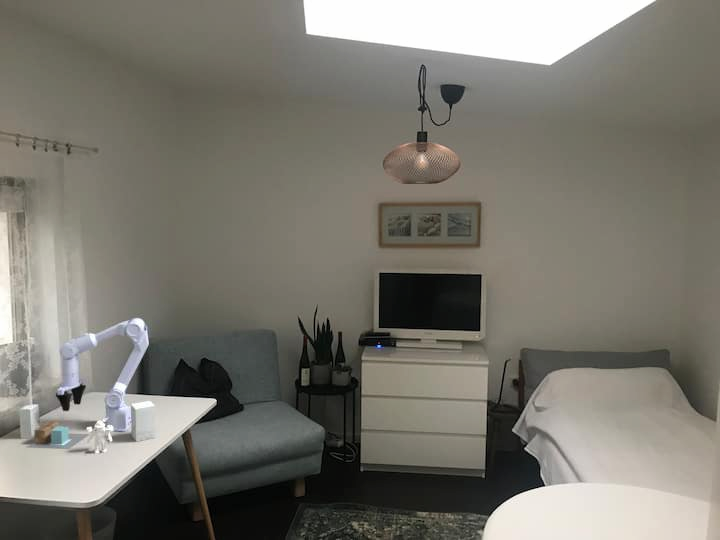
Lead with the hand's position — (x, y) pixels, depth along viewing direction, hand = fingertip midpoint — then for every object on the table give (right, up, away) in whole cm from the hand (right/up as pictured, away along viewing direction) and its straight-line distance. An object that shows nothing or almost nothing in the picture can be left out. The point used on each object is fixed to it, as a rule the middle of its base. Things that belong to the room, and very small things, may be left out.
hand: (71, 407), depth 222 cm
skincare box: (-12, -10, -6) cm, 17 cm away
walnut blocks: (-4, -9, -10) cm, 14 cm away
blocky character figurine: (+20, -12, -19) cm, 29 cm away
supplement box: (+30, -10, -4) cm, 32 cm away
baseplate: (+1, -11, -11) cm, 15 cm away
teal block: (+2, -10, -13) cm, 16 cm away
